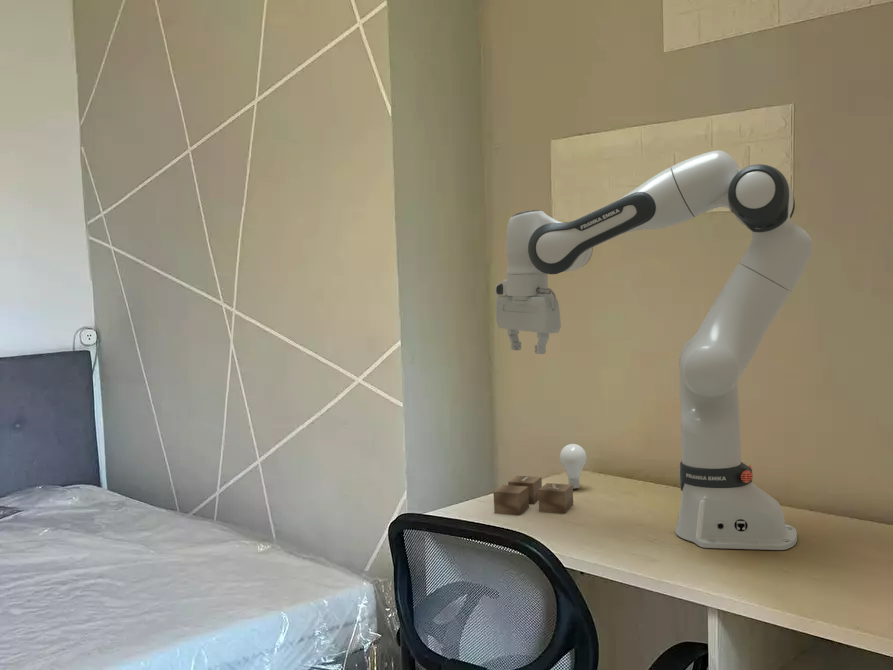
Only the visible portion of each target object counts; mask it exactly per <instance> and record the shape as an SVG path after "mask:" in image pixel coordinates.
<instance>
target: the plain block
mask: <svg viewBox="0 0 893 670" xmlns="http://www.w3.org/2000/svg"><path fill="white" fill-rule="evenodd" d="M493 508H494V509H493V511H494V514H498V515H500V514H501V515H509V516H510V515H511V516H512V515H513V516H521V515H523V514H524V513H525V512H526V511H528V510H529V509H530V504H529V489H528V487H526V486H511V485H508V484H503V485H501V486H499V487H498V488H497V489H495V490H494V491H493Z"/></svg>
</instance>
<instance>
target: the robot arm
mask: <svg viewBox="0 0 893 670" xmlns="http://www.w3.org/2000/svg"><path fill="white" fill-rule="evenodd" d="M795 204H796V202H795V197H794V192H793V188H792V187H791V184H790V183H789V180H787V178H786V177H785V175H784V174H783V173H782V172H781V171H780V170H779V169H778V168H776V167H774V166H772V165H768V164H759V163H758V164H752V165H749V166H746V167H744V168H742V169H741V168H740V167H739V165H738V164H737V161H736V160H735V159H734V158H733V156H732V155H730V154H729V153H727V152H726V151H723V150H720V149H719V150H711V151H708V152H704V153H702V154H698V155H695V156H693V157H690V158H687V159H685V160H682V161H680V162H678V163H676V164H673V165H672V166H670V167H668V168H666V169H664V170H662V171H660V172H659V173H657V174H655V175H654V176H652V177H650V178H649V179H647V180H646V181H644V182H643V183H642V184H639V186H637V187H636V188H634V189H632V190H631V191H629V192H628V193H627V194H625V195H623V196H622V197H621V198H619V199H617V200H615V201H614V202H612V203H609V204H607V205H605V206H603V207H601V208H599V209H596V210H594V211H592V212H589V213H588V214H586V215H584V216H582V217H580V218H577V219H574V220H572V221H571V220H570V221H569V222H562V221H560V220H557V219H555V218H553V217H551V216H549V215H548V214H546V212H544V211H543V210H540V209H532V210H525V211H521V212H518V213H515V214H512V216H511V217H510V218H509V219H508V221H507V226H506V235H505V236H506V237H505V256H506V259H507V268H506V273H505V274H506V275H505V276H506V277H505V279H503V281H501V282H500V283H498V284H496V285H495V286H494V294H495V296H496V299H495V321H496V324H497V327H498V328H499V329H504V330H507V336H508V339H509V342H510V349H511V350H512V351H521V350H522V341H520V339H519V333H520V331H521V332H530V333H536V338H538V339H537V344H535V345H534V353H535V354H537V355H544V354H546V351H547V350H546V345H547V343H548V342H549V339H550V334H556V333H557V334H558V333H559V332H560V330H561V326H562V325H561V312H560V311H561V310H560V305H559V300H558V299H557V295H556V293H555V292H554V291H553V289H552V288H550V287H549V281H548V280H549V278H548V277H549V276H548V275H558V274H561V273H567V272H574V271H577V270H580V269H581V268H583V267H584V266H585V265H587V264H588V262H589V261H590V260H591V258H592V255H593V249H594V248H595V247H597V246H599V245H601V244H603V243H605V242H607V241H610V240H612V239H614V238H616V237H619V236H621V235H624V234H627V233H631V232H634V231H635V232H637V231H642V230H656V229H657V230H658V229H665V228H668V227H674V226H676V225H679V224H682V223H685V222H688V221H689V220H692V219H694V218H696V217H698V216H700V215H702V214H704V213H707V212H709V211H711V210H714V209H717V208H727V209H729V211H731V213H732V214H734V216H735V217H736V220H738V221H739V222H740V223H741V224H742V225H743V226H745V228H747V229H748V230H750V231H751V236H752V237H751V240H750V243H749V245H748V248H746V251H745V253H744V255H743V256H742V257H741V259H740V261H739V262H738V263H737V265H736V266H735V268H734V270H733V271H732V273H731V275H729V278H728V279H727V281H726V282H725V284H724V286H723V287H722V288H721V291H719V293H718V295H717V296H716V298H715V299H714V302H713V303H712V305H711V307H710V309H709V311H708V313H707V314H706V316H705V317H704V319H703V321H702V322H701V324H700V326H699V328H698V329H697V330H696V333H695V334H694V336H692V337H691V338H690V339H688V341H686V342H685V343H684V345H683V347H682V348H681V351H680V353H679V358H678V360H679V363H678V365H679V390H680V391H679V393H680V394H679V397H680V398H679V399H680V434H681V437H680V439H681V440H680V441H681V462H680V463H679V469H678V470H679V471H678V473H679V487H680V491H681V497H680V499H681V500H680V508H679V515H678V520H677V524H676V528H675V530H674V532H675V534H676V535H677V536H678V537H680V538H681V539H683V540H687V541H689V542H691V543H694V544H696V545H697V546H699V547H701V548H704V549H705V548H706V549H728V550H729V549H731V550H732V549H733V550H734V549H735V550H736V549H737V550H762V551H763V550H768V551H769V550H770V551H784V550H788V549H791V548H793V547H794V546H795V545H796V543H797V542H798V533H797V530H796V528H795V527H794V526H792V525H790V524H789V523H788V524H786V523H785V516H784V513H783V510H782V507H781V505H780V503H779V501H777V499H775V498H774V497H772V496H771V495H769V494H768V493H767V492H765V491H764V490H762V489H761V488H760V487H758V485H756V484H755V483H753V477H754V476H753V475H754V474H753V467H752V465H751V464H749V466H748V464H746V463H744V462H742V458H741V456H742V455H741V451H742V450H741V449H742V448H741V447H742V446H741V419H740V418H741V417H740V405H739V388H738V387H739V386H738V381H739V380H740V378H741V377H742V375H743V373H744V371H746V368H747V366H748V365H749V363H750V361H751V360H752V358H753V356H755V355H754V354H755V353H756V351H757V349H758V348H759V345H760V344H761V341H762V340H763V338H764V336H765V335H766V332H767V331H768V329H769V327H770V326H771V324H772V323H773V322H774V320H775V318H776V317H777V315H778V313H780V311H781V309H782V308H783V306H784V304H785V303H786V302H787V300H788V299H789V297H790V295H792V292H793V291H794V290H795V288H796V286H797V285H798V282H799V281H800V279H801V277H802V275H803V273H804V272H805V269H806V267H807V265H808V263H809V260H810V257H811V256H812V253H813V249H814V244H813V240H812V238H811V236H810V235H809V233H808V232H807V231H806V230H804V228H802V227H800V225H798V224H795V223H794V221H792V219H791V218H792V217H793V215H794V212H795V207H796V205H795ZM548 287H549V288H548Z"/></svg>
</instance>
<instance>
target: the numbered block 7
mask: <svg viewBox="0 0 893 670" xmlns="http://www.w3.org/2000/svg"><path fill="white" fill-rule="evenodd" d="M573 491H574V490H573V485H569V483H568V484H567V483H553V482H551V483H549V482H546V483H545V484H544V485H542V487H541V488H540V489H539V490H538V493H539V501H538V512H540V513H554V514H567V511H568V510H569V509H570V508H571V507H572V506H573V507H574V492H573ZM573 507H572V508H573ZM572 508H571V509H572ZM571 509H570V510H571ZM570 510H569V511H570ZM569 511H568V512H569Z"/></svg>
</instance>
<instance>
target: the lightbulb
mask: <svg viewBox="0 0 893 670" xmlns="http://www.w3.org/2000/svg"><path fill="white" fill-rule="evenodd" d="M559 461H560V464H561V466H562V467H563V468H564V470H565V472H566V476H567V479H568V481H567V482H568V484H569V485H573V489H575V490H577V489H579V488H580V486H581V485H580V484H581V483H580V477H581V474H582V473H581V472H582V469H583V468H584V466H585V464H586V462H587V452H586V450H585V448H584V447H582V446H581V445H579V444H577V443H569V444H567V445H565V446H564V447H562V449H561V450H560V452H559Z"/></svg>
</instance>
